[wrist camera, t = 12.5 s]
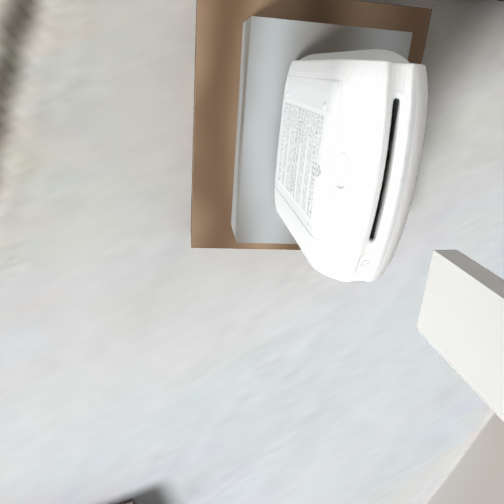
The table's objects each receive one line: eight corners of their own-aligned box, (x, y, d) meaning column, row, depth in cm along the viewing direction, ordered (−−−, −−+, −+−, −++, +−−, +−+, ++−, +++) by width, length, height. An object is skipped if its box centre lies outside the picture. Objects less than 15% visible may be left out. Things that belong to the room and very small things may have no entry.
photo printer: (328, 217, 31) (410, 302, 20) (267, 215, 30) (317, 301, 19) (352, 57, 27) (471, 47, 16) (283, 51, 27) (357, 35, 15)
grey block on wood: (190, 230, 38) (192, 268, 31) (196, -7, 32) (200, -31, 24) (366, 235, 41) (405, 271, 33) (405, 15, 34) (465, 0, 27)
